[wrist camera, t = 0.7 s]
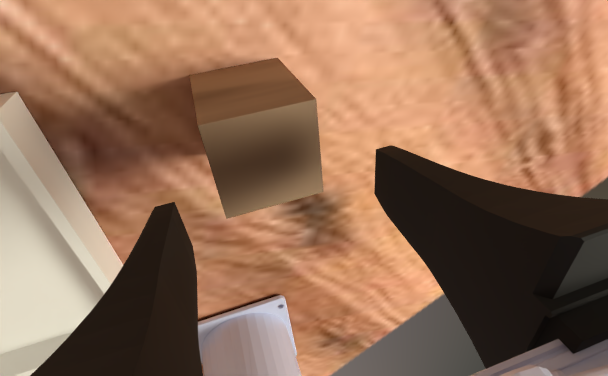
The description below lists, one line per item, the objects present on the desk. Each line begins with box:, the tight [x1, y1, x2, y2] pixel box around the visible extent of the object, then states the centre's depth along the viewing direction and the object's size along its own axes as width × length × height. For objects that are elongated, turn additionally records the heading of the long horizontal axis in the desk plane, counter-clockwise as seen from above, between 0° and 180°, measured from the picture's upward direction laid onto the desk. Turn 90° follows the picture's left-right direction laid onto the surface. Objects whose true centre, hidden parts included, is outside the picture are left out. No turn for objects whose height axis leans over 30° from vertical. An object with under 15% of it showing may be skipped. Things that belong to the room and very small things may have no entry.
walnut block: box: [189, 58, 323, 219], centre depth 17 cm, size 4×4×6 cm
